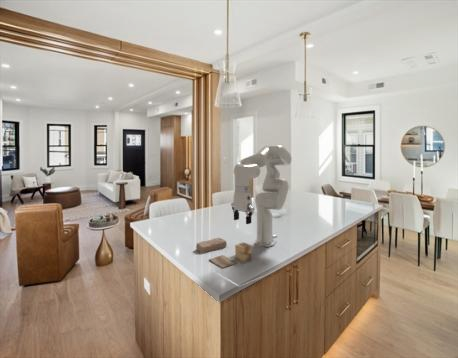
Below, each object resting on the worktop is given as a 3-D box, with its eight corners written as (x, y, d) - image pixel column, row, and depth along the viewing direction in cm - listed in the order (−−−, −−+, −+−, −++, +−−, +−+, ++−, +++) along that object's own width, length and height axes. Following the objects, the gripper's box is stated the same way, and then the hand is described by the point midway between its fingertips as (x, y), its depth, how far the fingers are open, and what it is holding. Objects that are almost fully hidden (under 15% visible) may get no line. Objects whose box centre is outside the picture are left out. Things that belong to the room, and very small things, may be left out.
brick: (202, 254, 144) (202, 246, 143) (195, 249, 150) (195, 242, 150) (227, 248, 153) (227, 240, 152) (219, 244, 160) (219, 236, 159)
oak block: (243, 254, 140) (243, 242, 140) (251, 258, 136) (251, 245, 135) (235, 257, 137) (235, 244, 136) (243, 261, 132) (242, 248, 131)
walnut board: (222, 257, 139) (222, 255, 139) (237, 264, 130) (237, 262, 129) (208, 261, 133) (208, 259, 133) (222, 269, 124) (222, 267, 124)
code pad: (244, 253, 144) (244, 252, 144) (258, 259, 135) (258, 258, 135) (228, 258, 137) (228, 257, 137) (242, 265, 129) (242, 264, 129)
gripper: (259, 190, 128) (259, 223, 130) (236, 186, 141) (237, 217, 143) (247, 192, 123) (248, 226, 125) (226, 188, 137) (226, 219, 139)
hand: (242, 221), depth 134 cm, fingers open, 9 cm apart
